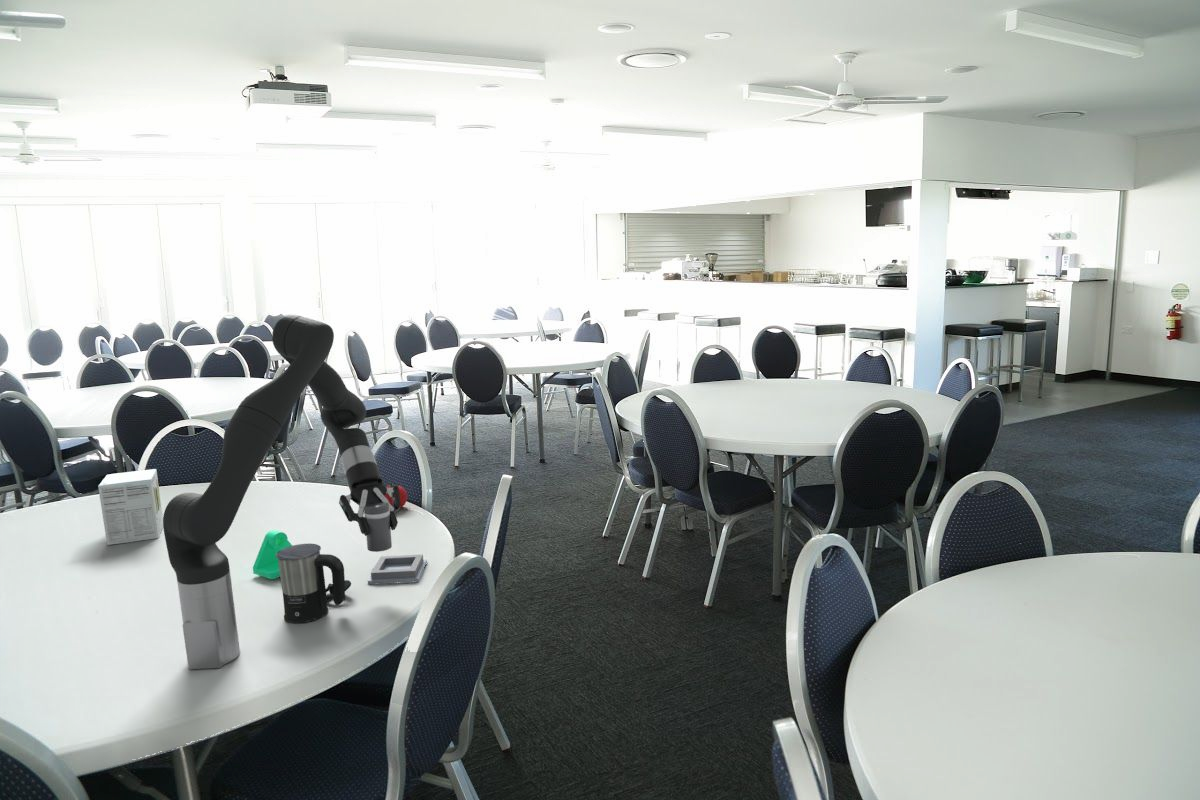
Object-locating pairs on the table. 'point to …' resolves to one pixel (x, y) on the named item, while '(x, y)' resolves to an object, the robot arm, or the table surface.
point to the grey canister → (378, 526)
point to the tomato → (402, 495)
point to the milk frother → (309, 582)
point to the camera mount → (270, 554)
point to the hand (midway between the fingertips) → (380, 530)
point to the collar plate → (397, 569)
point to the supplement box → (131, 506)
